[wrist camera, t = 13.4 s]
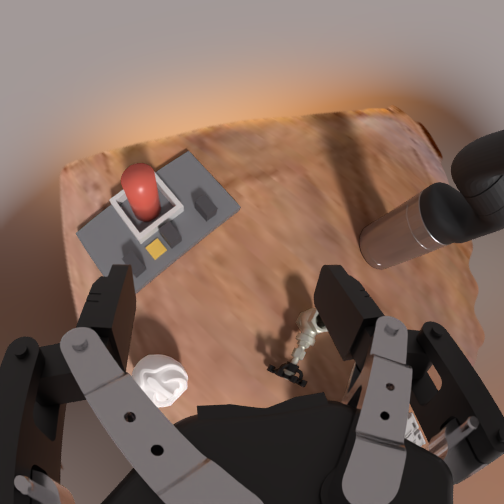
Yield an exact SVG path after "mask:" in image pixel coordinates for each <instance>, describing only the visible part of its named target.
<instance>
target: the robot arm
mask: <svg viewBox="0 0 504 504" xmlns="http://www.w3.org/2000/svg"><path fill="white" fill-rule="evenodd" d="M451 175H452V179H453V181H454V183H455V184H456V186H457V188H458V190H459V191H460V192H459V191H457V190H456V189H454V188H452V187H451V186H450V185H448V184H445V183H441V182H438V183H434V184H432V185H430V186H429V187H427V188H426V189H424V190H423V191H421V192H420V193H418V194H417V195H415V196H414V197H412V198H411V199H409V200H408V201H406V202H404V203H403V204H401V205H400V206H398V207H397V208H395V209H394V210H392V211H390V212H389V213H387V214H386V215H384V216H382V217H381V218H379V219H378V220H376V221H374V222H373V223H371V224H370V225H368V226H367V227H365V228H364V229H363V231H362V233H361V236H360V249H361V252H362V255H363V257H364V258H365V260H366V261H367V262H368V263H369V264H370V265H371V266H372V267H374V268H376V269H386V268H389V267H392V266H395V265H398V264H400V263H403V262H406V261H408V260H411V259H414V258H416V257H419V256H421V255H424V254H427V253H429V252H432V251H434V250H437V249H439V248H442V247H444V246H447V245H449V244H451V243H463V242H467V241H470V240H472V239H475V238H478V237H481V236H484V235H487V234H490V233H493V232H496V231H498V230H501V229H503V228H504V130H502V131H498V132H495V133H492V134H489V135H486V136H484V137H481V138H479V139H477V140H475V141H474V142H471V143H470V144H468V145H467V146H465V147H464V148H463V149H462V150H461V151H460V152H459V153H458V154H457V155H456V157H455V158H454V160H453V163H452V165H451ZM369 296H370V295H369V294H368V293H367V291H365V289H364V287H363V286H362V285H361V284H360V282H359V281H357V280H356V279H354V278H353V277H352V276H349V275H348V274H347V272H346V271H345V270H344V268H343V267H342V266H341V265H324V266H323V267H322V269H321V272H320V275H319V279H318V282H317V286H316V289H315V293H314V304H315V307H316V309H317V311H318V313H319V315H320V317H321V319H322V321H323V322H324V324H325V326H326V328H327V330H328V332H329V334H330V336H331V338H332V340H333V342H334V344H335V346H336V348H337V349H338V351H339V353H340V355H341V357H342V359H343V361H346V360H351V359H354V360H355V364H354V366H353V368H352V371H351V375H350V378H349V381H348V384H347V388H346V391H345V394H344V397H343V400H342V402H341V403H340V402H336V401H328V400H327V399H326V396H325V394H324V392H322V393H317V394H311V395H305V396H299V397H294V398H292V399H289V400H287V401H284V402H282V403H279V404H277V405H274V406H271V407H268V408H255V407H247V406H239V405H232V404H227V405H207V406H197V413H198V414H197V415H193V416H190V417H187V418H185V419H182V420H180V421H179V422H177V423H175V424H174V425H173V424H172V423H171V422H170V421H169V420H168V419H167V418H166V417H165V416H164V415H163V413H162V412H161V411H160V410H159V409H158V408H157V407H156V405H155V404H154V403H153V402H152V401H151V400H150V398H149V397H148V396H147V395H146V394H145V392H144V391H143V390H142V389H141V388H140V386H139V385H138V384H137V383H136V381H135V380H134V379H133V378H132V376H131V375H130V374H129V373H127V372H126V367H127V360H128V353H129V346H130V340H131V334H132V328H133V322H134V317H135V311H136V294H135V287H134V280H133V273H132V267H131V265H130V264H113V265H112V267H111V269H110V272H109V275H108V277H103V276H101V277H100V278H99V279H98V280H97V281H95V282H94V283H93V285H92V287H91V290H90V292H89V295H88V297H87V300H86V302H85V305H84V307H83V310H82V312H81V315H80V318H79V321H78V323H77V326H76V328H74V329H72V330H70V331H68V332H67V333H66V334H65V335H64V336H63V337H62V339H61V342H60V343H58V344H54V345H48V346H43V347H39V345H38V343H37V342H36V340H34V339H33V338H31V337H21V338H18V339H16V340H14V341H13V342H12V343H11V344H10V345H9V347H8V349H7V351H6V353H5V356H4V358H3V361H2V364H1V367H0V504H75V502H74V499H73V496H72V494H71V493H70V492H69V491H68V489H67V488H66V487H64V486H63V485H61V484H60V469H61V449H62V435H63V426H64V417H65V410H66V403H69V402H76V401H81V400H86V399H87V401H88V403H89V404H90V406H91V408H92V409H93V411H94V413H95V414H96V416H97V417H98V419H99V421H100V422H101V424H102V425H103V426H104V428H105V429H106V431H107V433H108V434H109V435H110V437H111V438H112V440H113V441H114V442H115V444H116V445H117V447H118V448H119V449H120V451H121V452H122V453H123V455H124V456H125V457H126V459H127V460H128V461H129V462H130V464H131V465H132V466H133V467H134V468H133V469H132V470H131V471H130V472H129V473H128V475H127V476H126V477H125V478H124V479H123V480H122V481H121V482H120V483H119V484H118V486H117V487H116V488H115V489H114V490H113V491H112V492H111V493H110V494H109V495H108V496H107V498H106V499H105V500H104V501H103V502H102V503H101V504H453V485H454V484H458V483H460V482H461V481H463V480H465V479H466V478H468V477H470V476H472V475H473V474H475V473H476V472H478V471H479V470H481V469H483V468H484V467H485V466H487V465H488V464H490V463H491V462H493V461H494V460H496V459H497V458H498V457H500V456H501V455H502V454H504V417H503V415H502V413H501V411H500V410H499V408H498V406H497V405H496V403H495V402H494V400H493V398H492V396H491V395H490V393H489V392H488V390H487V388H486V387H485V385H484V384H483V382H482V380H481V379H480V377H479V376H478V374H477V373H476V371H475V370H474V368H473V367H472V365H471V364H470V362H469V361H468V359H467V358H466V357H465V355H464V354H463V352H462V351H461V350H460V348H459V347H458V345H457V344H456V343H455V341H454V340H453V338H452V337H451V336H450V334H449V333H448V332H447V330H446V329H445V328H444V327H443V326H441V325H440V324H438V323H435V322H426V323H424V325H423V326H422V328H421V330H420V331H416V330H407V328H406V326H405V325H404V324H403V323H402V322H401V321H400V320H398V319H396V318H394V317H391V316H385V315H384V314H383V313H382V311H381V310H380V309H379V307H378V306H377V305H376V303H375V302H374V301H373V299H372V298H371V297H369ZM432 364H433V365H434V367H435V369H436V370H437V372H438V374H439V375H440V377H441V379H442V386H441V389H440V390H439V391H438V390H437V388H436V386H435V385H434V383H433V381H432V379H431V378H430V376H429V374H428V373H427V371H428V370H429V368H430V367H431V366H432ZM409 403H410V405H411V407H412V409H413V411H414V413H415V415H416V417H417V419H418V421H419V423H420V425H421V427H422V430H423V432H424V434H425V436H426V438H427V440H428V442H429V451H427V450H426V449H424V448H422V447H420V446H418V445H416V444H415V443H413V442H411V441H409V440H408V439H406V438H405V432H406V425H407V419H408V411H409Z"/></svg>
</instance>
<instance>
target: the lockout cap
mask: <svg viewBox="0 0 504 504" xmlns="http://www.w3.org/2000/svg"><path fill="white" fill-rule="evenodd" d="M121 184H122V187H123V189H124V192H125V194H126V197H127V199H128V201H129V204H130V206H131V208H132V211H133V213H134V215H135V217H136V218H137V219H138V220H140V221H142V222H150V221H152V220H154V219H156V218H157V217H158V215H159V214H160V211H161V204H160V199H159V194H158V189H157V183H156V178H155V173H154V170H153V169H152V168H151V167H150V166H149V165H147V164H144V163H137V164H133V165H131V166H129V167H128V168H127V169H126V170H125V171H124V172H123V174H122V177H121Z"/></svg>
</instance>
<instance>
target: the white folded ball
mask: <svg viewBox="0 0 504 504" xmlns="http://www.w3.org/2000/svg"><path fill="white" fill-rule="evenodd" d="M132 378H133V379H134V380H135V381H136V383H137V384H138V385H139V386H140V388H141V389H142V390H143V391H144V392H145V394H146V395H147V396H148V397H149V398H150V400H151V401H152V402H153V403H154V404H155V405H156V407H157V408H159V407H167V406H170V405H172V404H173V402H174V401H175V400H176V399H178V398H179V397H180V395H181V394H182V393H183V392H184V391H185V390H186V389H187V381H188V375H187V373H186V371H185V369H184V367H183V366H182V365H181V363H180V362H178V361H176V360H175V359H173V358H171V357H169V356H166V355H161V354H155V355H147V356H145V357H144V358H142V359H141V360H140V361H139V362H138V363H137V364H136V366H135V368H134V370H133V372H132Z"/></svg>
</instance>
